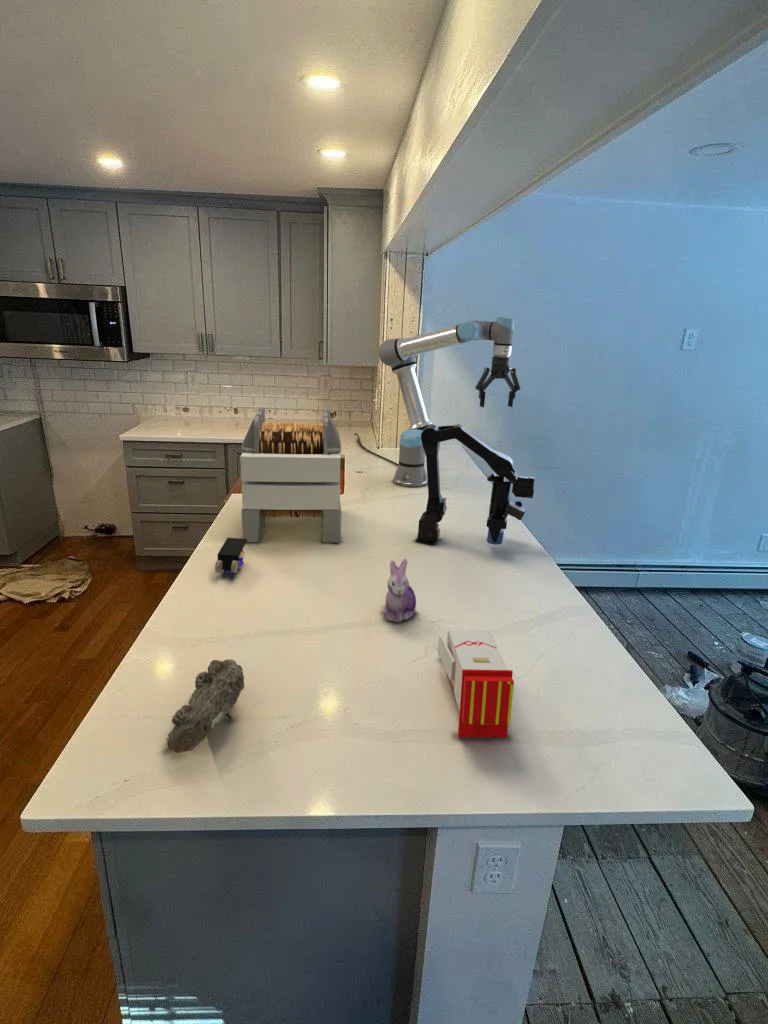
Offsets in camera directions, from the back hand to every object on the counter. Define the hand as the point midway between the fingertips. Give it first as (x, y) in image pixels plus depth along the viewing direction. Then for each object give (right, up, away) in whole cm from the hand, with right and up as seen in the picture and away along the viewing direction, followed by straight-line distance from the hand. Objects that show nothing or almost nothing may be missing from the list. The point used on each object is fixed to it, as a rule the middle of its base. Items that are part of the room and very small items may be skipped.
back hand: (496, 406), depth 245 cm
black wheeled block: (-93, -63, -78) cm, 137 cm away
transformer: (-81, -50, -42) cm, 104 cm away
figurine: (-44, -72, -98) cm, 130 cm away
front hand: (-11, -55, -56) cm, 79 cm away
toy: (-31, -83, -127) cm, 155 cm away
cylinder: (-11, -56, -55) cm, 79 cm away
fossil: (-81, -85, -137) cm, 181 cm away
